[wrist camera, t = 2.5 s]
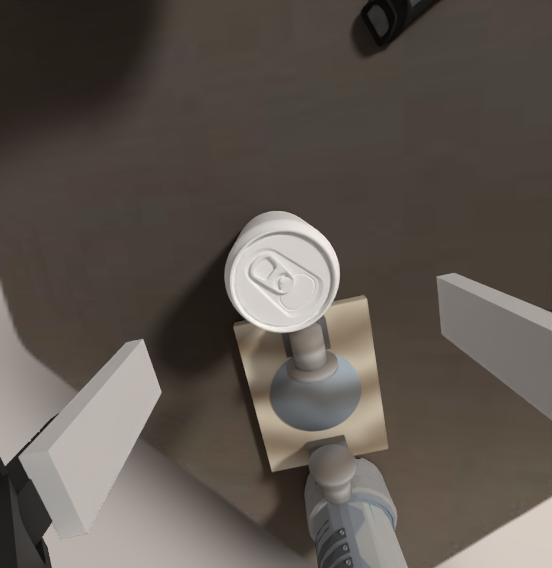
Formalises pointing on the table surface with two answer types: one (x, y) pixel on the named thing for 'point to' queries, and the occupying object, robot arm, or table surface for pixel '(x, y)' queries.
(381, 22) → the electric trimmer
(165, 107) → the table surface
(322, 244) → the beverage can
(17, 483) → the robot arm
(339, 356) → the cradle
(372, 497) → the canister
